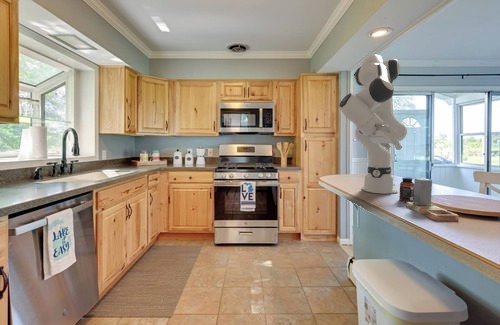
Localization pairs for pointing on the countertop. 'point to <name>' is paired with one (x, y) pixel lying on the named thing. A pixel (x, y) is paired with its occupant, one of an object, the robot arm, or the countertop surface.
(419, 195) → the graphite peg
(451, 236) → the countertop surface
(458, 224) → the countertop surface
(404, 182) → the supplement bottle
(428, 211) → the wooden tray
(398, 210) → the countertop surface
